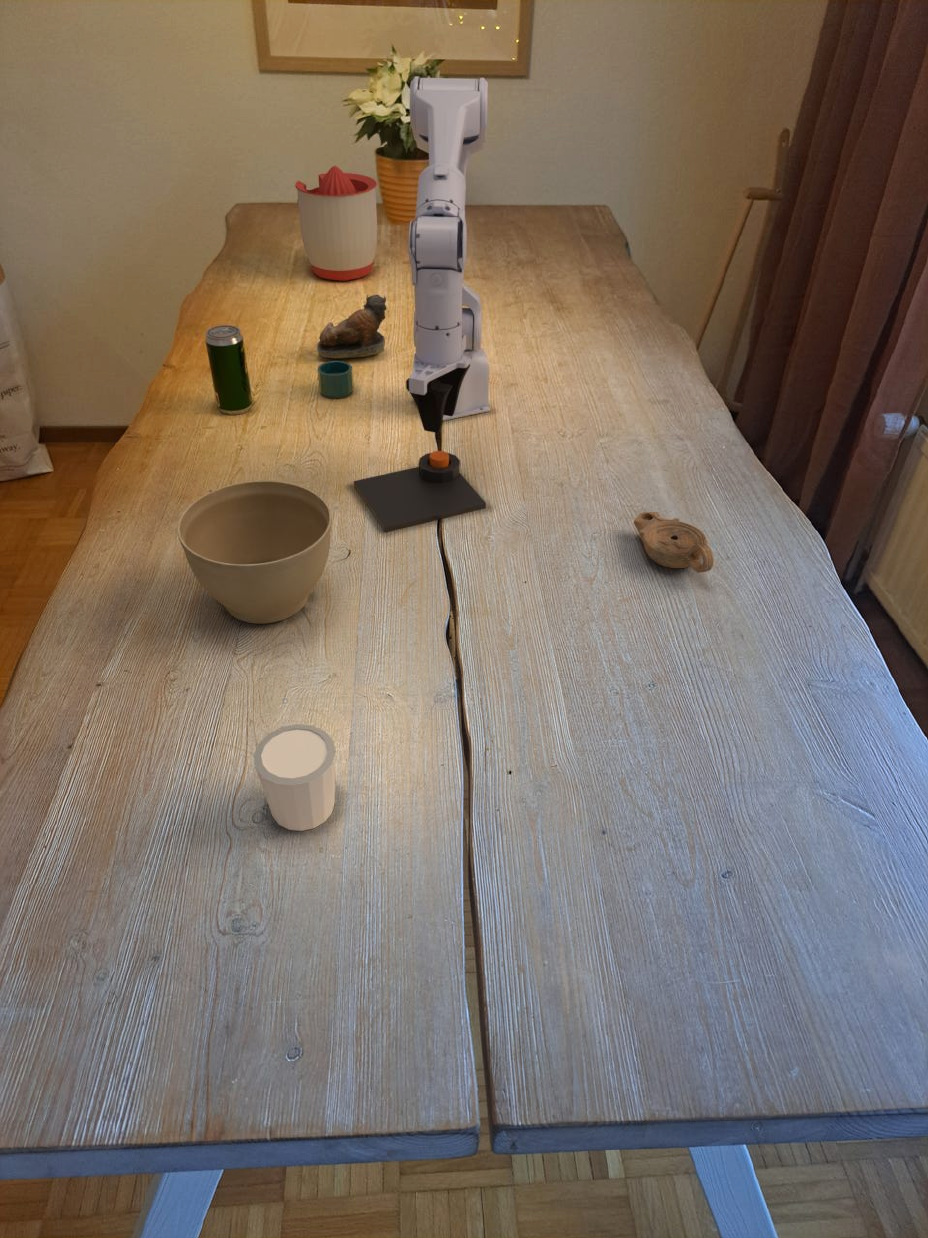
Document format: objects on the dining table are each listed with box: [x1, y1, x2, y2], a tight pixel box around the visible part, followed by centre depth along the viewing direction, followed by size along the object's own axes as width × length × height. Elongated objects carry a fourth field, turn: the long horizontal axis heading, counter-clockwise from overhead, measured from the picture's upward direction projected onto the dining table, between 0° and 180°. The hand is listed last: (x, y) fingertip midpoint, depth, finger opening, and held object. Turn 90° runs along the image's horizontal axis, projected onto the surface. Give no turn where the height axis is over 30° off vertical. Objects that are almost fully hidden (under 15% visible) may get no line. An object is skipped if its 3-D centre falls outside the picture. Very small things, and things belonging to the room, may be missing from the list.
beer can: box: [204, 324, 253, 416], centre depth 136 cm, size 5×5×12 cm
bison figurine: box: [316, 294, 388, 359], centre depth 151 cm, size 12×7×10 cm, turn 98°
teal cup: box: [316, 360, 354, 399], centre depth 143 cm, size 5×5×4 cm
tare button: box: [430, 450, 449, 468], centre depth 122 cm, size 3×3×1 cm
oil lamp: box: [633, 511, 714, 573], centre depth 109 cm, size 13×8×5 cm, turn 23°
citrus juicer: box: [294, 165, 378, 282], centre depth 179 cm, size 16×17×20 cm
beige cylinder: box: [253, 723, 337, 832], centre depth 79 cm, size 7×7×7 cm
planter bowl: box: [176, 479, 333, 624], centre depth 100 cm, size 16×16×11 cm
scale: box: [352, 451, 487, 533], centre depth 120 cm, size 14×12×2 cm
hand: (439, 422), depth 119 cm, fingers open, 4 cm apart
